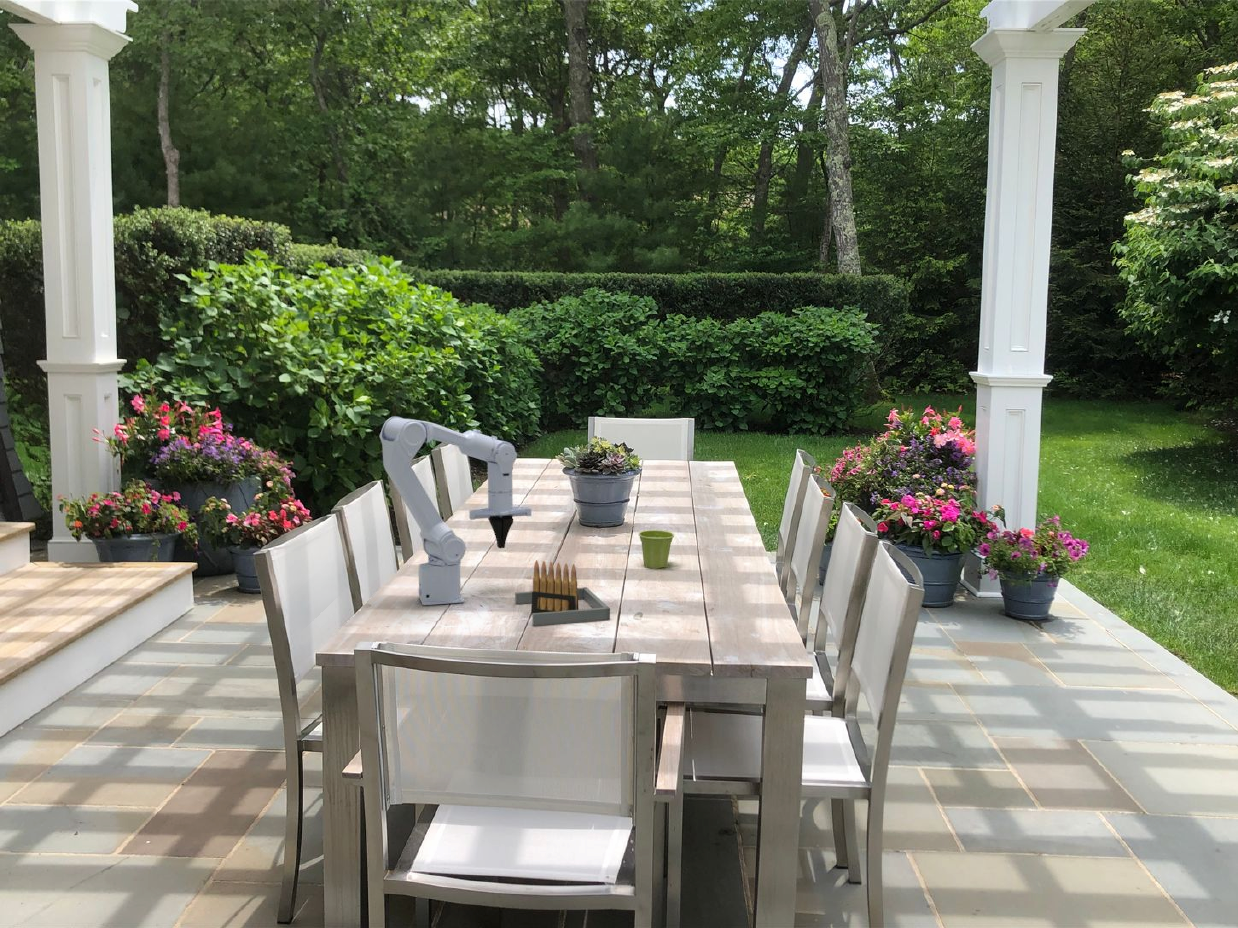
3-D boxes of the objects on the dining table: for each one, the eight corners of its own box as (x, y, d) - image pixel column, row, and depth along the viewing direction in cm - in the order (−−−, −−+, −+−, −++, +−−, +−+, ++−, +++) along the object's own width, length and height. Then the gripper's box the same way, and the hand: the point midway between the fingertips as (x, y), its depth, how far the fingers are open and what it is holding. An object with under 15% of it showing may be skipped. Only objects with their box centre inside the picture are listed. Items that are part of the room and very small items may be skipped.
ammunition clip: (530, 613, 229) (530, 560, 227) (534, 611, 231) (534, 558, 229) (575, 618, 226) (576, 565, 224) (578, 616, 227) (579, 563, 226)
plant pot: (674, 562, 277) (675, 530, 275) (672, 571, 267) (673, 538, 266) (639, 561, 278) (640, 529, 276) (636, 569, 268) (637, 537, 267)
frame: (533, 626, 220) (533, 614, 219) (515, 603, 237) (515, 592, 236) (609, 619, 225) (610, 608, 225) (586, 597, 242) (586, 587, 242)
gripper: (472, 495, 238) (473, 553, 240) (534, 492, 243) (534, 548, 245) (467, 490, 245) (468, 546, 247) (527, 487, 249) (527, 542, 251)
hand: (501, 547), depth 246 cm, fingers closed
